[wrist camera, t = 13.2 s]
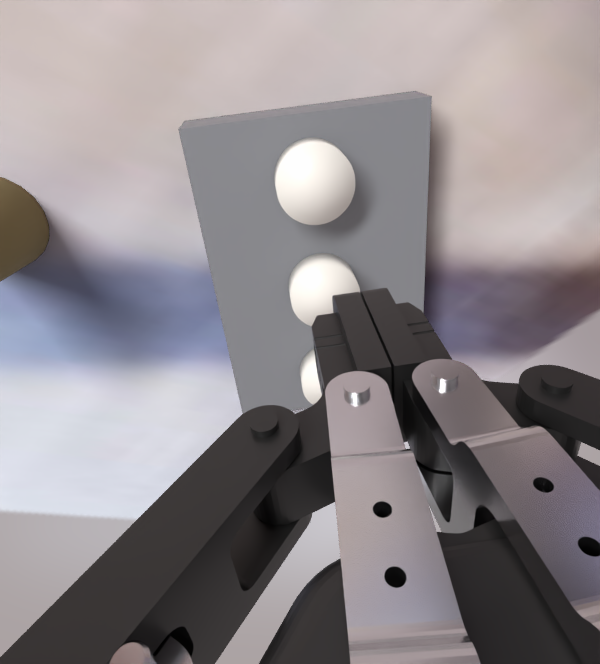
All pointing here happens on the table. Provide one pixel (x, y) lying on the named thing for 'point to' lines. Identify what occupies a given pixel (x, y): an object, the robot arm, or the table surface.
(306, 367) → the knob
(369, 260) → the control board
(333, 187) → the knob
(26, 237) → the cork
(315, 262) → the knob middle
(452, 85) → the table surface
